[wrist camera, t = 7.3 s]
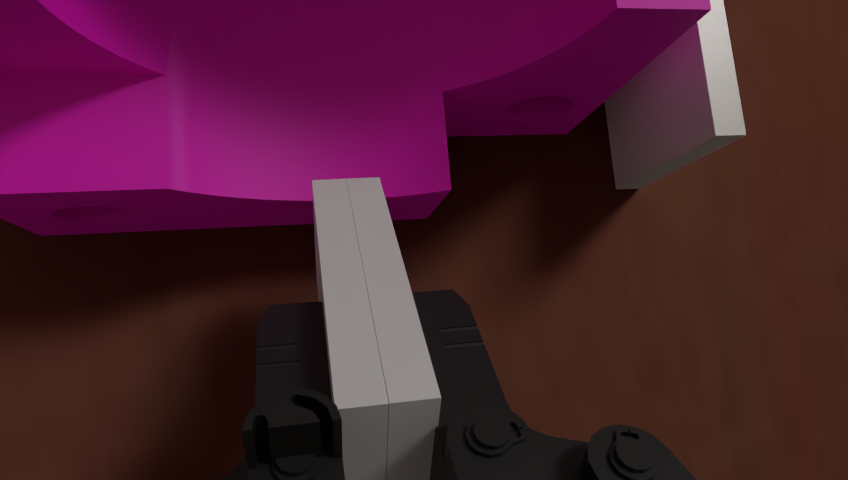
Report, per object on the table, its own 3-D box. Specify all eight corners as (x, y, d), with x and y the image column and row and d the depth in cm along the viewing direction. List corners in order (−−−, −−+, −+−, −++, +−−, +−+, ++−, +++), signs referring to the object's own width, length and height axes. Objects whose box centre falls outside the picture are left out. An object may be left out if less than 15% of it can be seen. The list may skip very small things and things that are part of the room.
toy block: (43, 236, 17) (-167, 147, 9) (47, 18, 18) (-139, -216, 10) (574, 213, 19) (731, 129, 12) (551, 24, 20) (683, -157, 13)
